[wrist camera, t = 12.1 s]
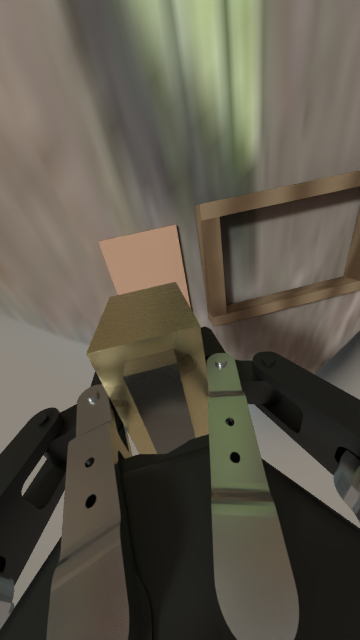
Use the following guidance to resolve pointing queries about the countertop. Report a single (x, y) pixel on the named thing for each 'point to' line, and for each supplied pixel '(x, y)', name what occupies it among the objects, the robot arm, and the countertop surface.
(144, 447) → the lever cap
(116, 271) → the mat
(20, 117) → the countertop surface
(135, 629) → the robot arm
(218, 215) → the open wooden frame
